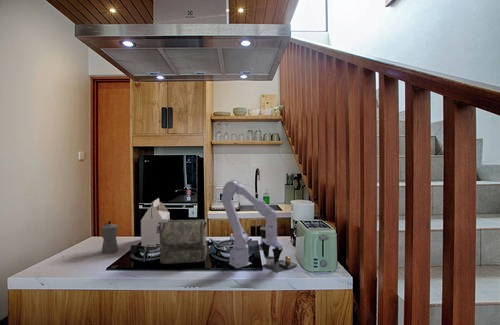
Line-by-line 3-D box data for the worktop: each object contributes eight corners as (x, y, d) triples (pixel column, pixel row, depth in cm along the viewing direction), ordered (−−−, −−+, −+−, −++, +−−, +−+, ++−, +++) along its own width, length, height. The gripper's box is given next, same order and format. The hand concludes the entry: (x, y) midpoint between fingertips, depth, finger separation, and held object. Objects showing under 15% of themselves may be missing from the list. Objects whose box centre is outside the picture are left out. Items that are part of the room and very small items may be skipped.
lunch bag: (154, 265, 145) (154, 223, 144) (163, 253, 163) (162, 216, 162) (205, 264, 147) (205, 222, 146) (208, 252, 165) (208, 215, 164)
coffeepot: (122, 252, 165) (121, 221, 164) (104, 256, 158) (104, 224, 158) (113, 246, 176) (112, 217, 176) (96, 249, 169) (96, 220, 169)
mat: (276, 273, 135) (276, 273, 135) (262, 266, 144) (262, 265, 144) (296, 266, 143) (296, 266, 143) (281, 260, 152) (281, 259, 152)
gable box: (150, 237, 194) (149, 197, 194) (169, 237, 196) (169, 197, 195) (141, 248, 172) (140, 202, 172) (163, 247, 174) (162, 202, 173)
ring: (270, 268, 141) (270, 260, 141) (263, 264, 145) (263, 257, 145) (278, 265, 144) (278, 258, 144) (271, 262, 149) (271, 255, 149)
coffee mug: (268, 246, 175) (268, 230, 174) (257, 244, 180) (257, 228, 179) (278, 242, 184) (278, 227, 184) (267, 239, 189) (267, 225, 189)
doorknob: (287, 269, 139) (287, 260, 139) (278, 265, 144) (278, 256, 144) (296, 266, 143) (297, 257, 143) (287, 262, 148) (287, 253, 148)
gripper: (286, 235, 141) (286, 262, 141) (267, 229, 153) (268, 254, 153) (276, 237, 137) (276, 265, 137) (257, 231, 148) (258, 257, 149)
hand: (271, 259), depth 145 cm, fingers open, 7 cm apart
